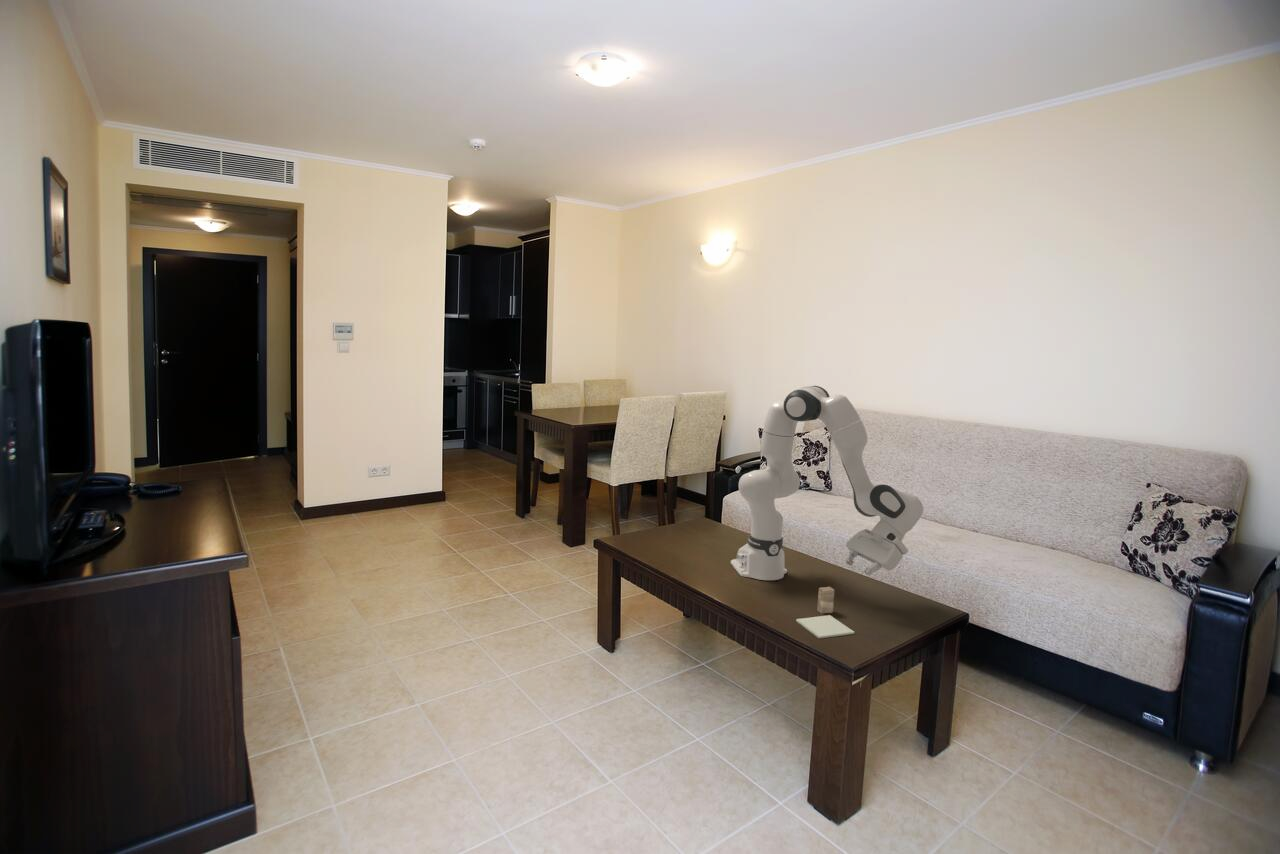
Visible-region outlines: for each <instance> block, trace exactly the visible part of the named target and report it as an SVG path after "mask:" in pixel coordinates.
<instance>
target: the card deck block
mask: <svg viewBox="0 0 1280 854" xmlns="http://www.w3.org/2000/svg"><path fill="white" fill-rule="evenodd" d="M817 593H818V595H817V608H816V609H817V612H819V613H820V614H821V615H823V614H832V613H833V612H834V600H835V589H834V588H833V587H831V586H825V587H823V586H822V587H818V592H817Z"/></svg>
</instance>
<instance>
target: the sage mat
mask: <svg viewBox="0 0 1280 854" xmlns="http://www.w3.org/2000/svg"><path fill="white" fill-rule="evenodd" d="M795 621H796V622H797V623H798V624H799V625H801V626H802V627H803V628H804V629H806V630H807V631H809V633H811V634H812V635H814V636H815V637H816V638H818V639H825V638H833V637H840V636H848V635H854V634H855V631H854V630H853V629H850V628H849V627H848V626H846V625H845V624H844V623H842V622H841V621H839V620H838V619H836V618H835V617H833V615H830V614H828V615H820V616H819V615H818V616H813V617H805V618H797V619H795Z"/></svg>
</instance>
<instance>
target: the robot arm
mask: <svg viewBox="0 0 1280 854" xmlns="http://www.w3.org/2000/svg"><path fill="white" fill-rule="evenodd" d="M818 419H819V420H820V421H821V422H822V423H823V424H824V425H825V428H826V429H827V432H828V433H829V434H828V435H829V436H830V438H831V441H832V442H833V445H834V447H835V449H836V450H837V453H838V455H839V458H840V460H841V462H842V463H841V464H842V466H843V468H844V471H845V474H846V475H847V477H848V481H849V483H850V486H851V489H852V493H853V505H854V507H855V509H856V510H857V512H858V513H859V514H861V515H863V516H865V517H868V518H869V517H870V518H872V517H876V516H878V518H880V520H879V521H878V522H877V523H876V524H875V525H874V527H873V528H872V529H871V530H870V529H867V528H865V529H862V530H860V531H858V532H856V533H855V534H854V535H852V536H851V537H850V539H849V540H847V541H846V544H845V547H846V548H847V550H849V552H848V557H847V558H846V560H845V563H846V564H847V565H848V566H852V565H853V564H854V563H855V561H854V559H855V558H856V557H858V556H859V557H861V558H863V559H864V560H865V561H866V560H867V561H869V562H871V563H872V564H873V565H871V566H870V567H868V566H867V567H866V568H865V569H864V573H865V575H867V576H869V577H870V576H871V575H872V574H873V573H875V572H877V571H880V570H881V569H882V568H883V569H885V570H886V571H889V572H890V571H892V570H894V569H895V568H896V567H897V566H898V565H899V564H900V562H901V561H902V559H903V557H904V556H905V555H907V554H908V552H909V549H908V548H907V547H906V545H905V544H904V542H903V539H905V536H906V534H907V533H908V532H910V531H911V530H912V529H913V528H914V527H915V526H916V525H917V523H918V522H919V520H920V519H921V518H922V515H924V506H923V503H922V502H921V500H920V499H919V498H918V497H917V496H916V495H914V494H912V493H909V492H902V491H899V490H896V488H893V487H892V486H890V485H888V484H873V483H872V482H871V479H870V477H869V474H868V472H867V470H866V467H865V464H864V462H863V453H864V450H865V447H866V446H867V443H868V439H869V438H868V434H867V430H866V428H865V425H864V422H863V421H862V418H861V417H860V415H859V414H858V411H857V410H856V408H855V407H854V405H853V404H852V402H851V401H850V399H849V398H848V397H847V396H845V395H844V394H834V395H830V394H829V392H828V391H827V389H825V388H823V387H822V386H819V385H809V386H808V385H807V386H804V387H801V388H799V389H795V390H793V391H791V392H790V393H789V394H788V395H787V396H786V397H785V399H784V400H776V401H775V402H772V403H771V404H770V406H769V408H768V409H767V413H766V417H765V419H764V422H763V423H764V424H763V428H762V434H761V440H760V444H759V445H760V446H759V452H760V453H761V455H762V456H763V457H764V458H765V459H766V468H764V469H753V470H751V471H749V472H747V473H744V474H743V475H741V477H740V478H739V481H738V491H739V493H740V496H741V497H742V498H743V499H744V500H745V501H746V502H747V504H748V506H749V509H750V514H751V516H750V517H751V524H750V525H751V526H750V527H751V528H750V533H748V534H747V537H748V539H747V543H746V544H744V545H743V546H742V547H740V548H739V549H738V551H737V553H736V558H734V559H731V560H730V564H731V565H732V567H733V568H734V570H736V572H737V573H738V575H740V576H741V577H745V578H752V579H756V580H761V581H776V580H777V581H778V580H781V579H783V578H784V576H785V574H787V572H788V570H787V568H785V567H786V566H785V550H783V544H784V537H783V524H784V523H783V522H784V517H783V515H782V514H781V512H780V511H778V510H777V509H776V506H775V505H776V504H775V500H776V499H782V498H787V497H789V496H791V495H794V494H796V493H797V492H798V491H799V489H800V487H801V486H800V485H801V479H800V476H799V473H798V472H797V471H796V470H795V469H794V466H793V461H792V460H793V459H792V454H793V446H794V442H795V441H794V440H795V435H796V429H797V425H798V422H808V421H816V420H818Z"/></svg>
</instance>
